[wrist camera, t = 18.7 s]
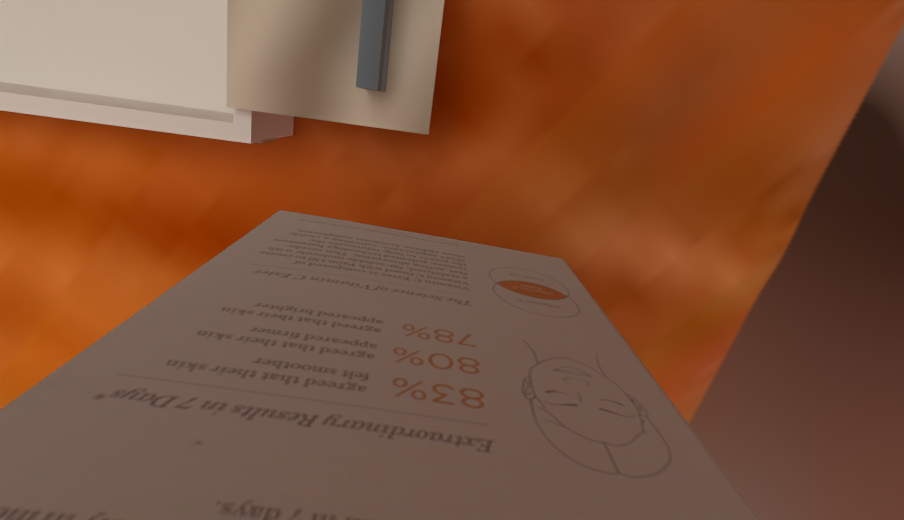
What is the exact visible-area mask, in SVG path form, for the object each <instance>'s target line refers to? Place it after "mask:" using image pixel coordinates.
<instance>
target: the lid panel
mask: <svg viewBox="0 0 904 520" xmlns="http://www.w3.org/2000/svg"><path fill="white" fill-rule="evenodd" d="M444 1H445V0H228V1H227V105H226V107H230V108H237V109H244V110H251V111H259V112H266V113H273V114H281V115H288V116H295V117H303V118H310V119H317V120H324V121H332V122H339V123H346V124H354V125H361V126H368V127H376V128H383V129H390V130H397V131H405V132H412V133H419V134H427V135H429V128H430V120H431V111H432V103H433V94H434V86H435V77H436V69H437V60H438V52H439V44H440V35H441V27H442V18H443V10H444Z"/></svg>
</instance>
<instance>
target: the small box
mask: <svg viewBox="0 0 904 520" xmlns="http://www.w3.org/2000/svg"><path fill="white" fill-rule="evenodd" d="M0 520H760V519H759V517H758V516H757V514H756V513H755V512H754V511H753V509H752V508H751V506H750V505H749V504H748V502H747V501H746V500H745V498H744V497H743V496H742V494H741V493H740V492H739V490H738V489H737V488H736V486H735V485H734V484H733V482H732V481H731V480H730V478H729V477H728V476H727V474H726V473H725V472H724V470H723V469H722V468H721V466H720V465H719V464H718V463H717V461H716V460H715V459H714V457H713V456H712V455H711V453H710V452H709V451H708V449H707V448H706V447H705V445H704V444H703V443H702V441H701V440H700V439H699V437H698V436H697V435H696V433H695V432H694V431H693V429H692V428H691V427H690V425H689V424H688V423H687V421H686V420H685V419H684V418H683V416H682V415H681V414H680V412H679V411H678V410H677V408H676V407H675V406H674V404H673V403H672V402H671V400H670V399H669V398H668V396H667V395H666V394H665V393H664V391H663V390H662V389H661V387H660V386H659V385H658V383H657V382H656V381H655V379H654V378H653V377H652V375H651V374H650V373H649V371H648V370H647V369H646V367H645V366H644V365H643V363H642V362H641V361H640V359H639V358H638V357H637V355H636V354H635V353H634V351H633V350H632V349H631V347H630V346H629V345H628V343H627V342H626V341H625V339H624V338H623V337H622V335H621V334H620V333H619V332H618V330H617V329H616V328H615V326H614V325H613V324H612V322H611V321H610V320H609V318H608V317H607V316H606V314H605V313H604V312H603V310H602V309H601V308H600V306H599V305H598V304H597V302H596V301H595V300H594V298H593V297H592V296H591V295H590V293H589V292H588V291H587V289H586V288H585V287H584V285H583V284H582V283H581V281H580V280H579V279H578V277H577V276H576V275H575V273H574V272H573V271H572V269H571V268H570V267H569V265H568V264H567V263H566V261H565V260H564V259H561V258H557V257H551V256H545V255H540V254H534V253H529V252H523V251H517V250H512V249H506V248H501V247H495V246H490V245H484V244H478V243H473V242H467V241H461V240H456V239H450V238H444V237H438V236H432V235H426V234H420V233H414V232H409V231H403V230H397V229H392V228H386V227H380V226H374V225H369V224H363V223H357V222H351V221H345V220H339V219H333V218H327V217H320V216H314V215H307V214H301V213H295V212H289V211H278V212H276V213H275V214H274V215H273V216H272V217H270V218H269V219H267V220H266V221H264V222H263V223H261V224H260V225H259V226H257V227H256V228H254V229H253V230H252V231H250V232H249V233H248V234H246V235H245V236H243V237H242V238H240V239H239V240H237V241H236V242H235V243H233V244H232V245H231V246H229V247H228V248H227V249H225V250H224V251H222V252H221V253H220V254H218V255H217V256H215V257H214V258H213V259H211V260H210V261H208V262H207V263H206V264H204V265H203V266H201V267H200V268H199V269H197V270H196V271H194V272H193V273H191V274H190V275H189V276H187V277H186V278H184V279H183V280H182V281H180V282H179V283H177V284H176V285H175V286H173V287H172V288H170V289H169V290H168V291H166V292H165V293H164V294H162V295H161V296H159V297H158V298H157V299H155V300H154V301H153V302H151V303H150V304H149V305H147V306H146V307H144V308H142V309H141V310H140V311H138V312H137V313H136V314H134V315H133V316H132V317H130V318H129V319H128V320H126V321H125V322H123V323H122V324H120V325H119V326H117V327H116V328H114V329H113V330H112V331H110V332H109V333H108V334H106V335H105V336H103V337H102V338H101V339H99V340H98V341H96V342H95V343H94V344H92V345H91V346H89V347H88V348H87V349H85V350H84V351H82V352H81V353H80V354H78V355H77V356H75V357H74V358H73V359H71V360H70V361H68V362H67V363H66V364H64V365H63V366H61V367H60V368H59V369H57V370H56V371H54V372H53V373H52V374H50V375H49V376H47V377H46V378H45V379H43V380H42V381H40V382H39V383H38V384H36V385H35V386H33V387H32V388H30V389H29V390H28V391H26V392H25V393H23V394H22V395H21V396H19V397H18V398H16V399H15V400H14V401H12V402H11V403H9V404H8V405H7V406H5V407H4V408H2V409H1V410H0Z"/></svg>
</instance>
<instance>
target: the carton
mask: <svg viewBox="0 0 904 520" xmlns="http://www.w3.org/2000/svg"><path fill="white" fill-rule="evenodd" d="M227 1H228V0H0V110H2V111H9V112H17V113H24V114H32V115H39V116H47V117H54V118H62V119H70V120H77V121H85V122H92V123H100V124H107V125H115V126H122V127H130V128H137V129H145V130H152V131H160V132H167V133H175V134H182V135H190V136H197V137H205V138H212V139H220V140H227V141H235V142H242V143H250V144H251V143H265V142H270V141H275V140H277V138H281V137H286V136H291V135H293V127H294V116H288V115H281V114H273V113H266V112H259V111H251V110H244V109H237V108H230V107H226V105H227Z"/></svg>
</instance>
